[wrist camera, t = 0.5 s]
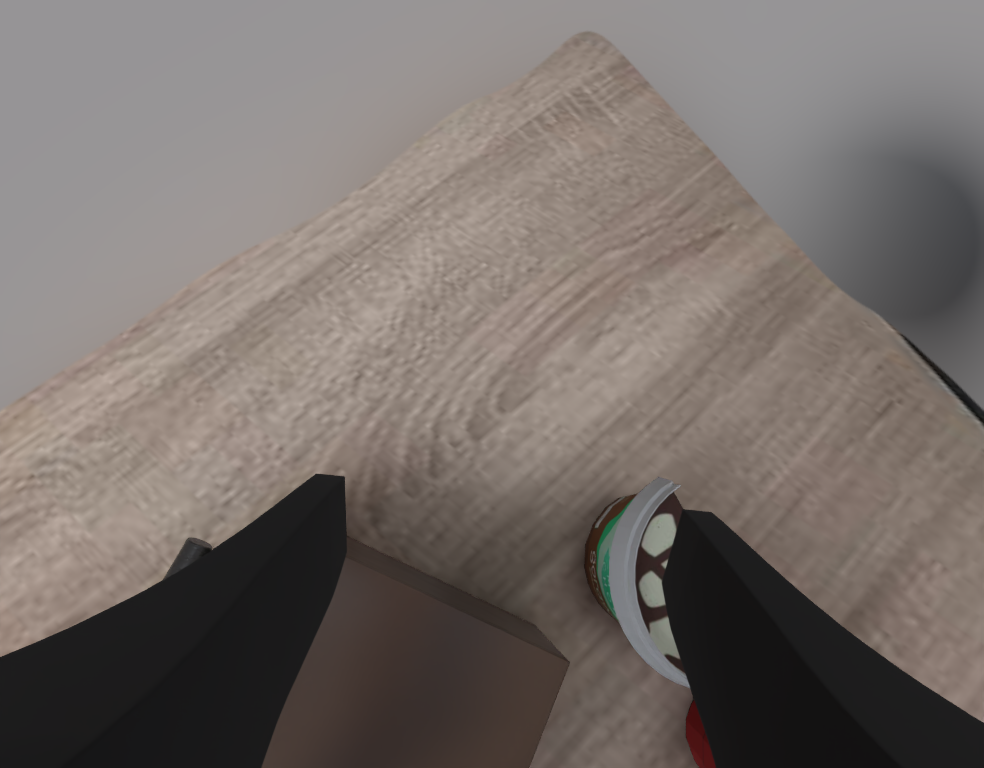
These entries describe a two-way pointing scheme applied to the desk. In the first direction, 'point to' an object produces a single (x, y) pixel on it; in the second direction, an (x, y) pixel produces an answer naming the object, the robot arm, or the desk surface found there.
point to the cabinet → (416, 677)
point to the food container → (638, 571)
